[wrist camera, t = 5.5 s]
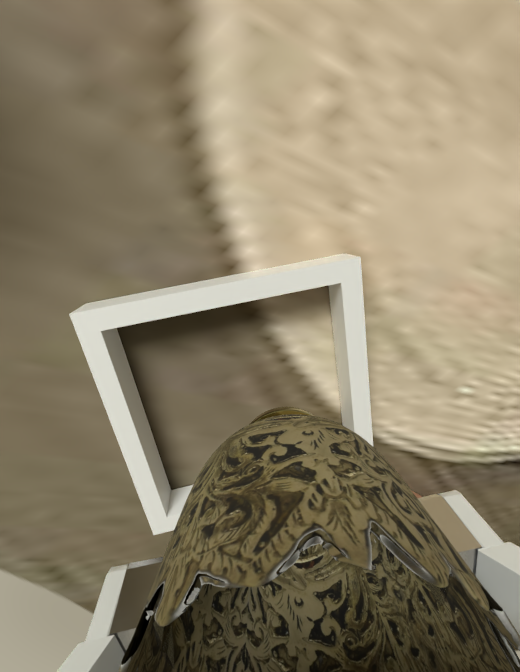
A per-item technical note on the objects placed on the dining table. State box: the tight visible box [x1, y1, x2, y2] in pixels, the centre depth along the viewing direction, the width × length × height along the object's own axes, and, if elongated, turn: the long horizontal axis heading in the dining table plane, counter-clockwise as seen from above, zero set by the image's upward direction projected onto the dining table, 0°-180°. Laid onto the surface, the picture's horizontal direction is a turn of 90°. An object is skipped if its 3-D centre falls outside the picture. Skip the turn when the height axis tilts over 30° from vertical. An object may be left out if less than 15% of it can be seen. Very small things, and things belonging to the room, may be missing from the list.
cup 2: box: [119, 407, 520, 672], centre depth 10 cm, size 8×7×8 cm
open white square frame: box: [69, 253, 373, 535], centre depth 18 cm, size 13×13×2 cm
